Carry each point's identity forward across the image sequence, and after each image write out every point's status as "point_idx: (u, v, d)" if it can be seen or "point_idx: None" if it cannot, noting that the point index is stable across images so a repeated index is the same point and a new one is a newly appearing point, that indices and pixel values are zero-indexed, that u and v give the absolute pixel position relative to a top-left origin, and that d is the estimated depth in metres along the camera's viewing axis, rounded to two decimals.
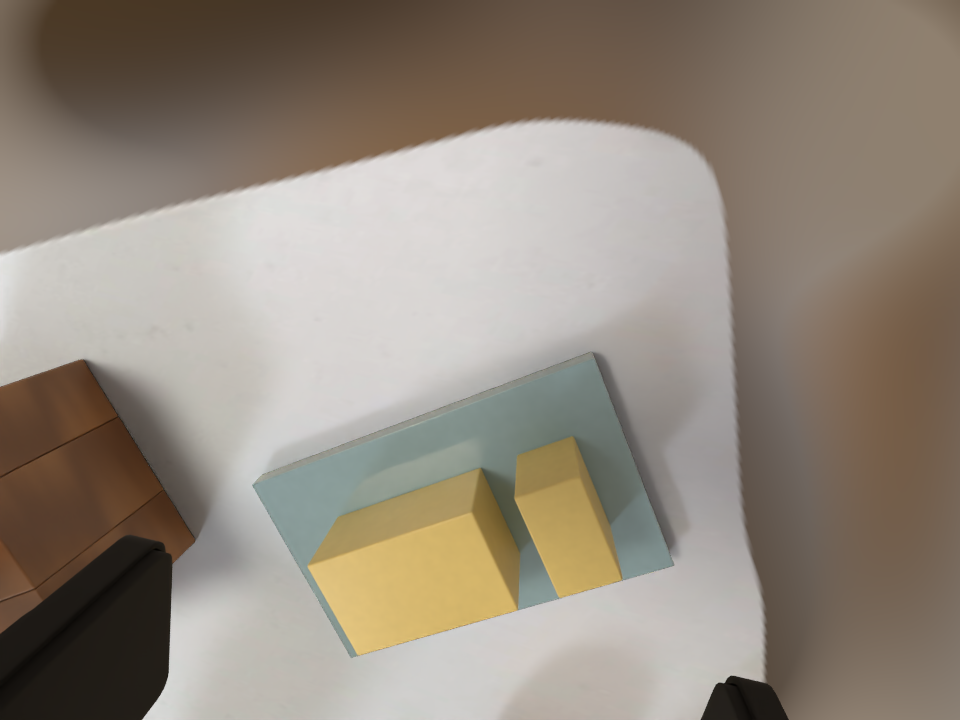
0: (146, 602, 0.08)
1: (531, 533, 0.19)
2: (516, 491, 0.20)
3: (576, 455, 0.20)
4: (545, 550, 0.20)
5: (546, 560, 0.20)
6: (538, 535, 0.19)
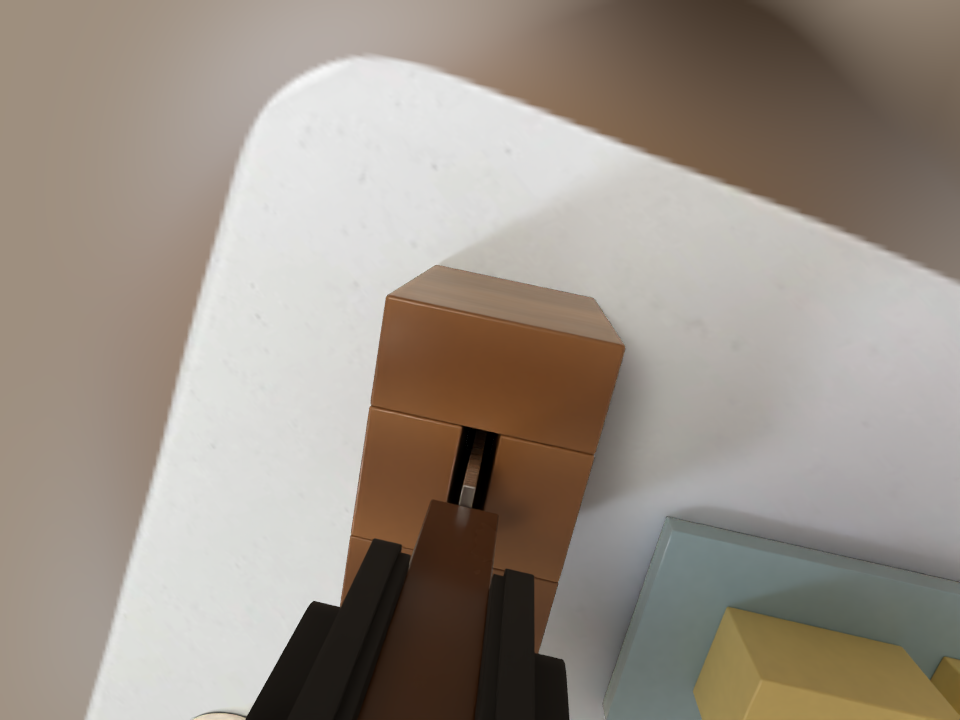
0: None
1: None
2: None
3: None
4: None
5: None
6: None
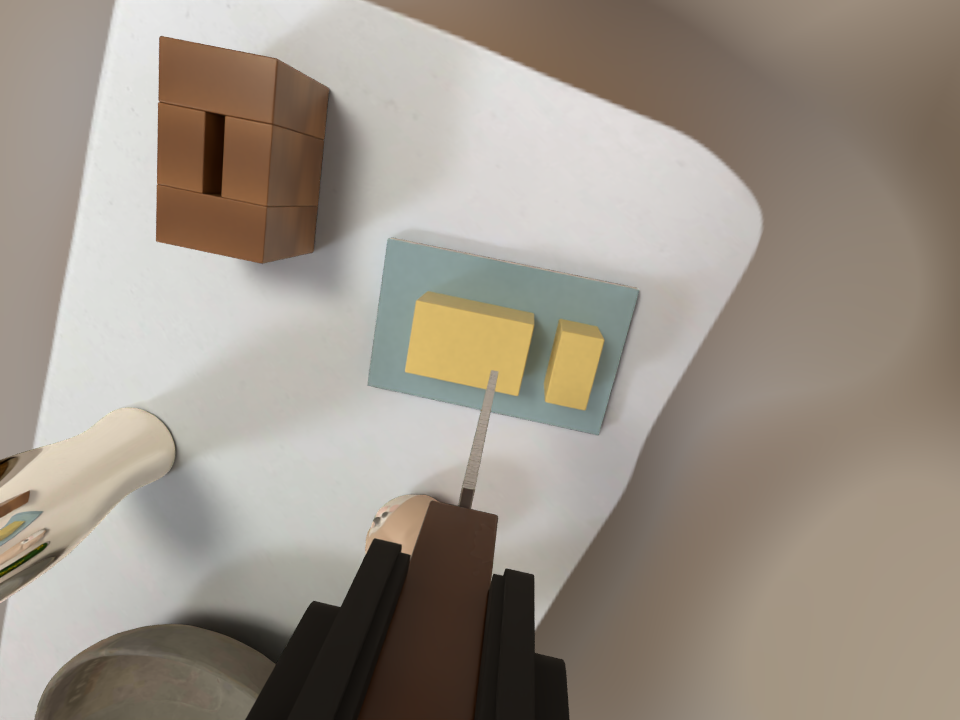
0: None
1: (557, 356, 0.31)
2: (563, 329, 0.31)
3: (600, 333, 0.33)
4: (557, 370, 0.32)
5: (554, 376, 0.32)
6: (559, 359, 0.31)
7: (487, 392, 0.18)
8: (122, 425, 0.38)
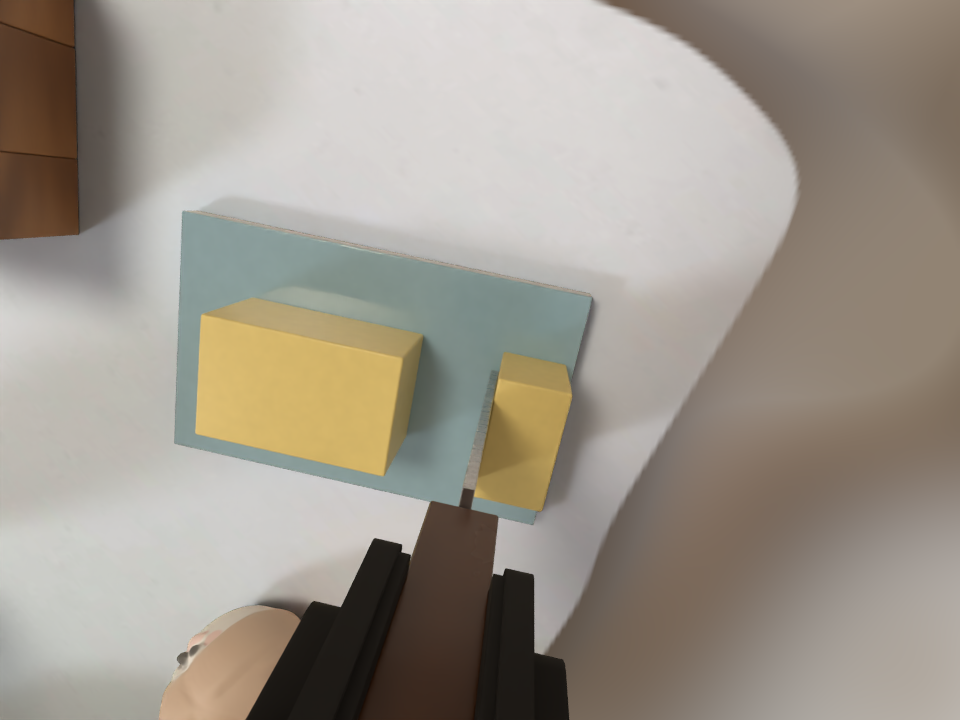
0: None
1: (490, 421, 0.18)
2: (502, 375, 0.18)
3: (568, 379, 0.19)
4: (492, 445, 0.18)
5: (486, 454, 0.18)
6: (495, 427, 0.18)
7: (487, 392, 0.18)
8: None
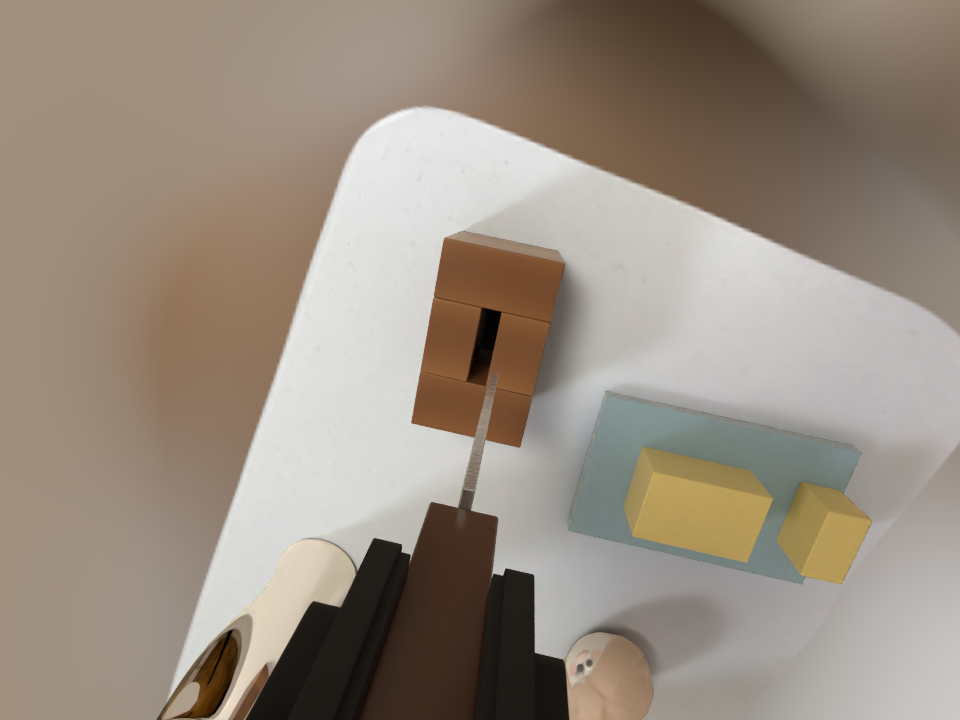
0: None
1: (820, 534, 0.31)
2: (827, 507, 0.31)
3: (854, 505, 0.32)
4: (818, 546, 0.32)
5: (814, 552, 0.32)
6: (822, 537, 0.31)
7: (487, 393, 0.18)
8: (316, 564, 0.38)
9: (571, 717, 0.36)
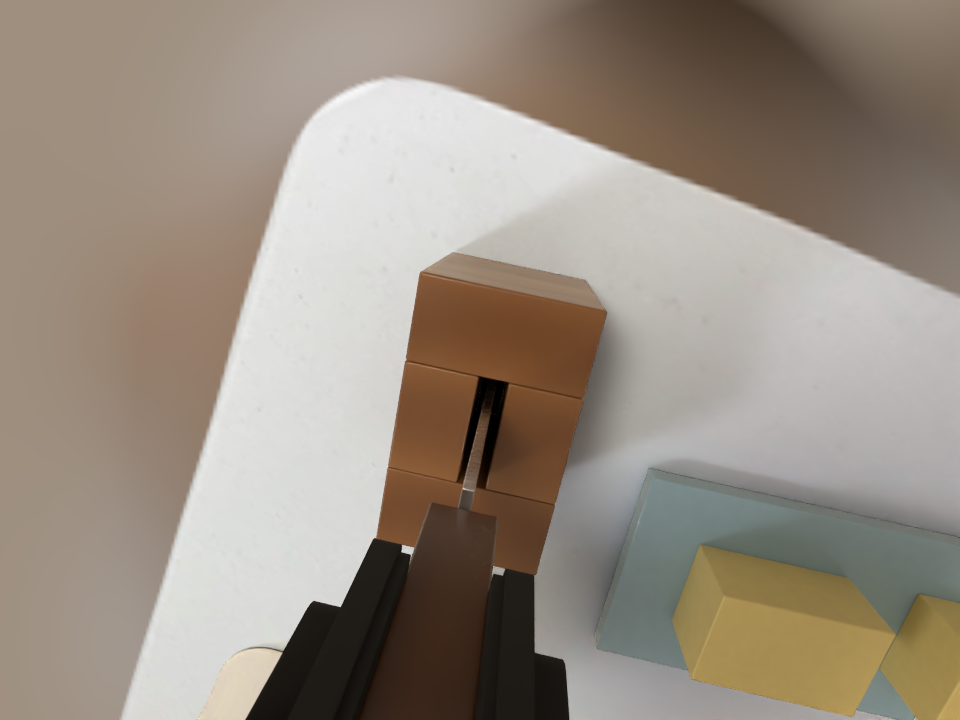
0: None
1: None
2: None
3: None
4: (957, 699, 0.22)
5: (950, 706, 0.22)
6: None
7: (487, 393, 0.18)
8: None
9: None
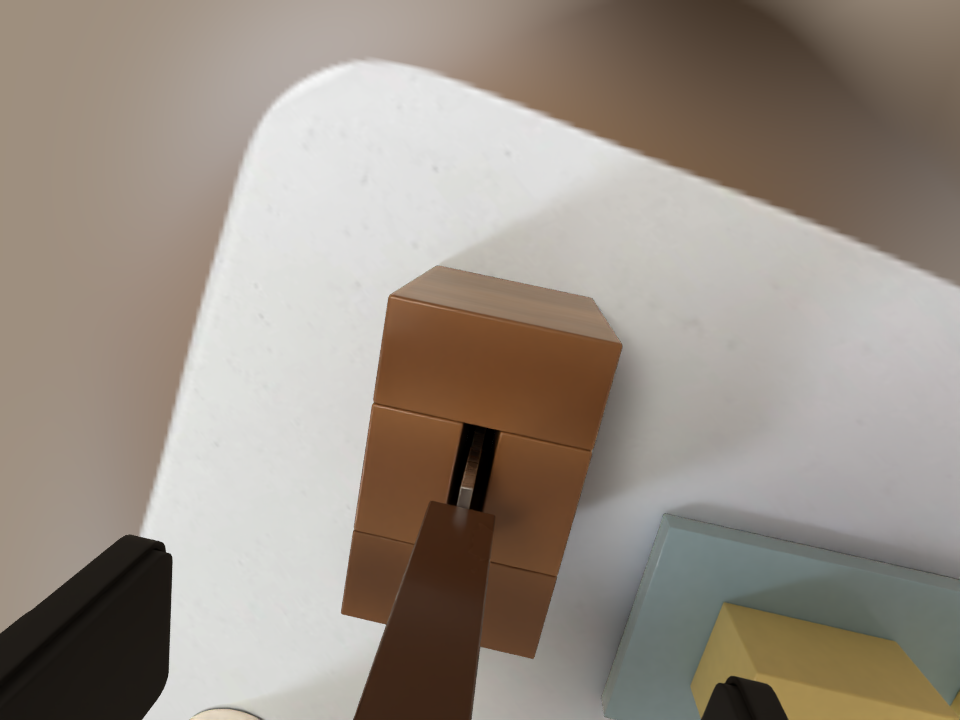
0: (145, 602, 0.08)
1: None
2: None
3: None
4: None
5: None
6: None
7: None
8: None
9: None
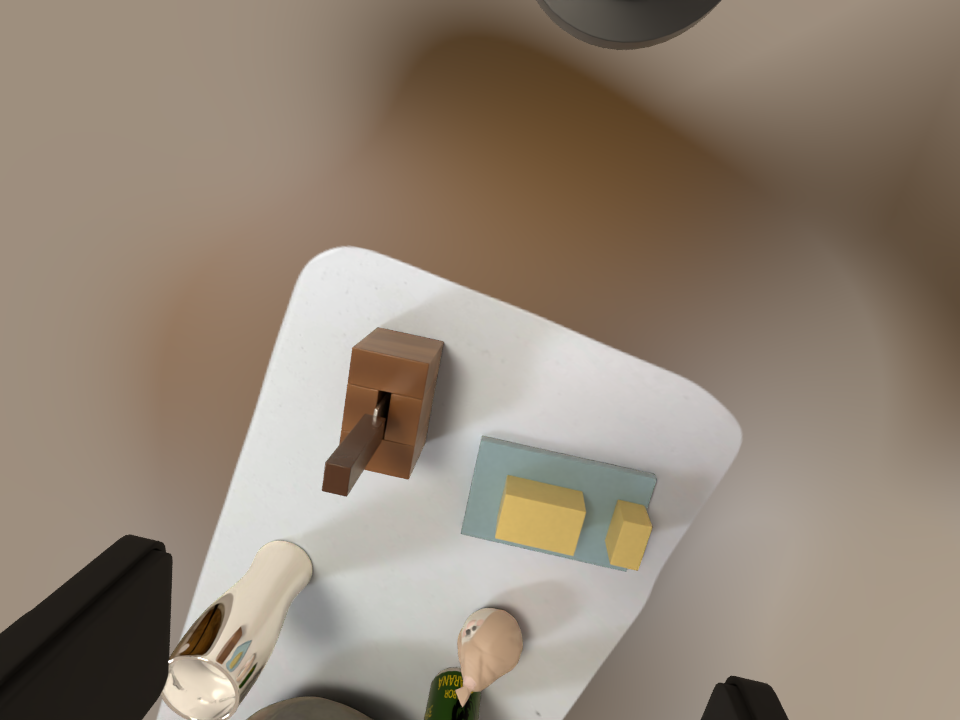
0: (145, 602, 0.08)
1: (619, 536, 0.46)
2: (624, 518, 0.46)
3: (648, 516, 0.47)
4: (619, 544, 0.46)
5: (616, 548, 0.46)
6: (621, 538, 0.46)
7: None
8: (281, 558, 0.53)
9: (461, 666, 0.50)
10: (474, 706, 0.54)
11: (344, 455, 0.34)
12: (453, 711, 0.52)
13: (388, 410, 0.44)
